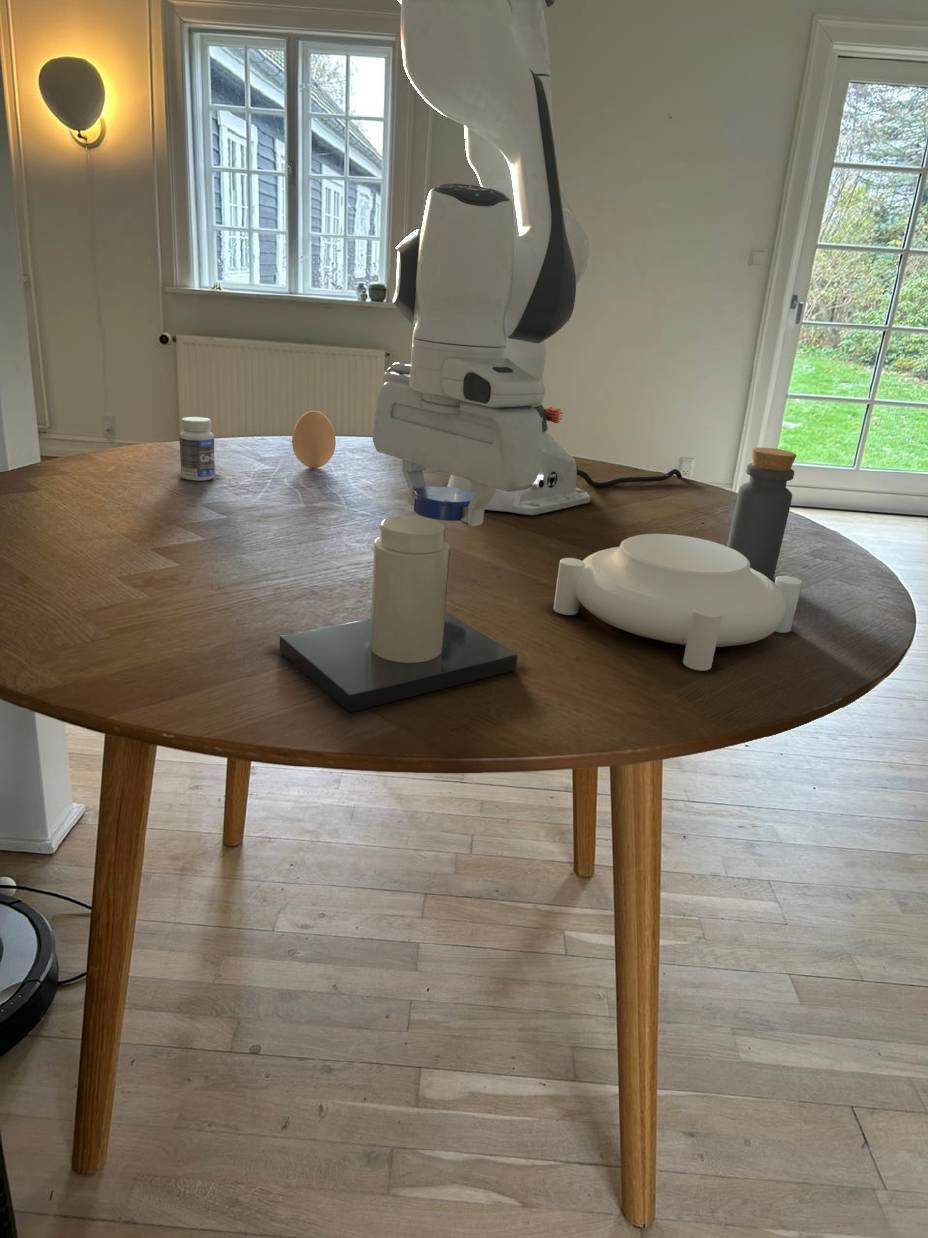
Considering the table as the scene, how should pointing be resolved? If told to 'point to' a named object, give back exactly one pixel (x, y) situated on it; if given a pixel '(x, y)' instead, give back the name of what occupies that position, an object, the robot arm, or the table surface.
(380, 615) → the jar
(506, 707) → the table surface
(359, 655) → the board
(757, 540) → the bottle
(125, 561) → the table surface
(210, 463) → the pill bottle
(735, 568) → the round stand with pegs
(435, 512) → the lid
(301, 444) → the egg
